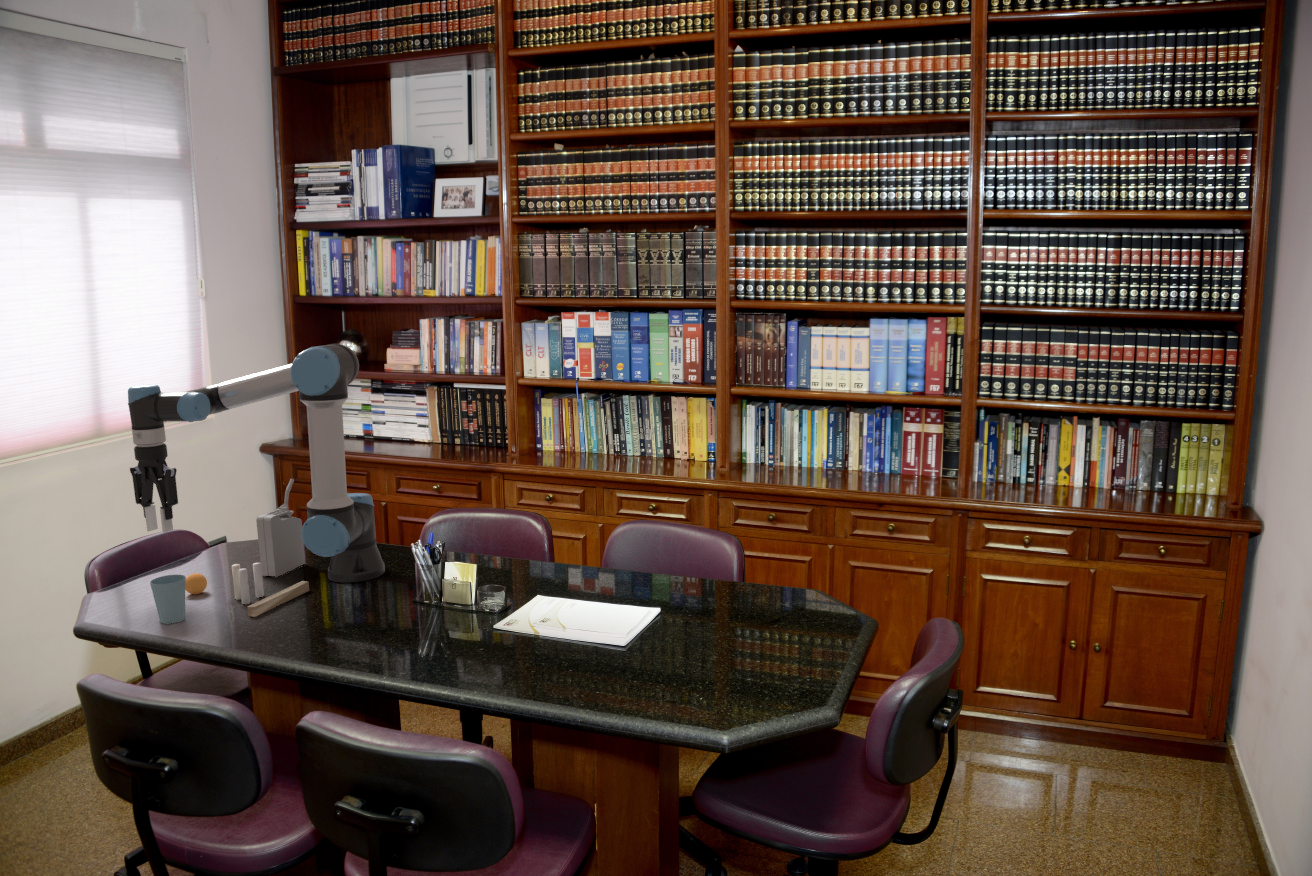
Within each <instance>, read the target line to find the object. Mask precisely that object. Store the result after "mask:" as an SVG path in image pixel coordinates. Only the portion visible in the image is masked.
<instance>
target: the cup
mask: <svg viewBox="0 0 1312 876" xmlns="http://www.w3.org/2000/svg"><path fill="white" fill-rule="evenodd" d="M186 578H187V577H186V576H185V575H184V574H168V575H162V576H158V577H156V578H153V579H151V580H150V582H149V584H150V588H151V591H152V595H153V598H154V603H155V607H156V611H157V616H158V619H159V623H160V624H162V623H163V624H164V625H172V624H177V623H180V622H182V621H184V620H185V619H186V590H185V585H186ZM176 622H177V623H176ZM171 623H172V624H171ZM163 624H162V625H163Z"/></svg>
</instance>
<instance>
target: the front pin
mask: <svg viewBox="0 0 1312 876" xmlns="http://www.w3.org/2000/svg"><path fill="white" fill-rule="evenodd" d="M239 569H241V564H240V563H234V564H232V565H231V573H232V574H231V575H232V582H233V593H234V600H235V599H236V600H237V601H239V600H241V591H240V581H239V571H238V570H239Z"/></svg>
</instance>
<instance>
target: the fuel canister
mask: <svg viewBox="0 0 1312 876" xmlns="http://www.w3.org/2000/svg"><path fill="white" fill-rule="evenodd" d="M294 481H295V479H294V478H290V479H289V482H288V484H287V486H286V489H285V493H284V499H283V500H284V503H283V504H280V506H278V507H277V508H275V510H273V511H270V512H267V513H263V514H259V515H258V516H257V517H256V532H257V540H258V541H257V542H258V549H259V550H258V551H259V561H260V562H259V563H261V569H262V577H266V576H275V577H274V578H277V577H276V576H279V575H281V574H283V573H285V572H287V571H290V570H292V569H294V568H296V567H298V566H300V565H303V564H305V565H306V551H305V544H304V543H303V540H302V537H301V530H302V527H303V521H302V519H301V518H300V517H299V518H298V517H295V516H292V515H293V514H294V512H295V511H294V510H290V508H289V498H290V497H289V495H290V492H291V490H292V486H293V484H294Z"/></svg>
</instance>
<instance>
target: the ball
mask: <svg viewBox="0 0 1312 876" xmlns="http://www.w3.org/2000/svg"><path fill="white" fill-rule="evenodd" d="M207 586H208V580H207V578H206V577H205V576H204V575H203V574H201V573H198V572H197V573H196V572H195V573H192V574H191V573H190V574H189V575H188V576H187V577H186V585H185V592H186V593H189V594H191V595H199V594H201V593H203V592H204V591H206V590H205V589H207Z"/></svg>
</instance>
